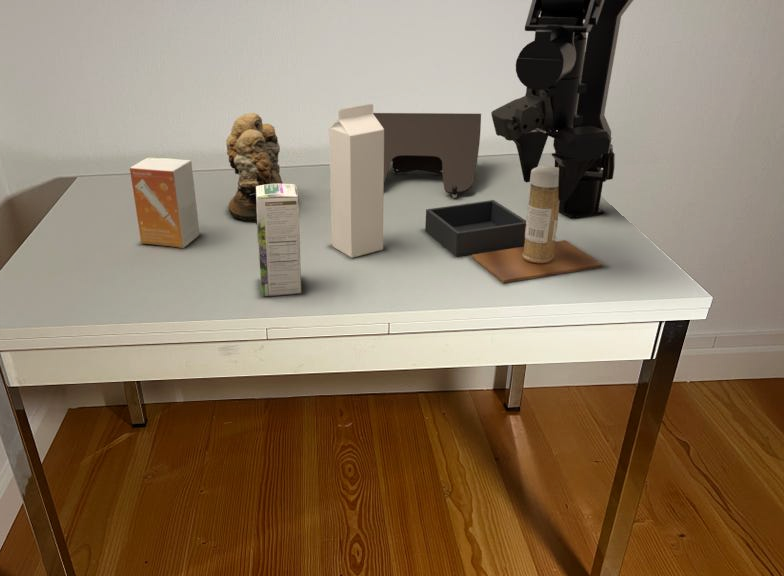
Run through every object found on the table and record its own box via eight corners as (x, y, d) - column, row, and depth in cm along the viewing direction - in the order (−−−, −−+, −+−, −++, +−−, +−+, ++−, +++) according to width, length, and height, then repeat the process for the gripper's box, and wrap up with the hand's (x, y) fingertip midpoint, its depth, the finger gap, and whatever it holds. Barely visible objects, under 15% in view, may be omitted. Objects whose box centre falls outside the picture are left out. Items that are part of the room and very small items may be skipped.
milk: (383, 250, 120) (385, 107, 108) (350, 258, 117) (350, 113, 106) (362, 238, 124) (362, 99, 113) (330, 246, 122) (327, 105, 110)
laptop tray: (353, 219, 148) (349, 185, 141) (369, 139, 160) (366, 104, 153) (473, 224, 144) (475, 188, 136) (480, 141, 155) (482, 104, 148)
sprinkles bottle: (559, 259, 112) (572, 170, 105) (538, 267, 110) (549, 176, 103) (535, 250, 116) (546, 163, 109) (514, 257, 113) (524, 169, 107)
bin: (491, 221, 128) (493, 199, 126) (527, 245, 118) (529, 222, 117) (425, 231, 126) (425, 209, 124) (455, 256, 116) (457, 233, 114)
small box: (140, 244, 126) (128, 167, 119) (159, 231, 131) (148, 156, 124) (183, 249, 124) (173, 170, 117) (201, 235, 129) (192, 159, 122)
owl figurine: (287, 224, 131) (281, 124, 122) (220, 224, 132) (210, 126, 124) (299, 191, 146) (294, 100, 138) (239, 192, 148) (231, 102, 139)
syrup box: (260, 280, 111) (253, 184, 104) (300, 277, 112) (295, 181, 104) (261, 297, 107) (254, 197, 99) (303, 294, 107) (298, 194, 99)
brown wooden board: (564, 243, 119) (565, 240, 119) (602, 267, 110) (603, 263, 110) (471, 257, 115) (471, 254, 115) (503, 283, 107) (503, 280, 107)
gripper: (470, 69, 106) (463, 179, 113) (541, 94, 90) (527, 219, 98) (542, 62, 108) (530, 170, 116) (623, 85, 92) (602, 208, 100)
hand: (544, 190), depth 107 cm, fingers open, 9 cm apart
